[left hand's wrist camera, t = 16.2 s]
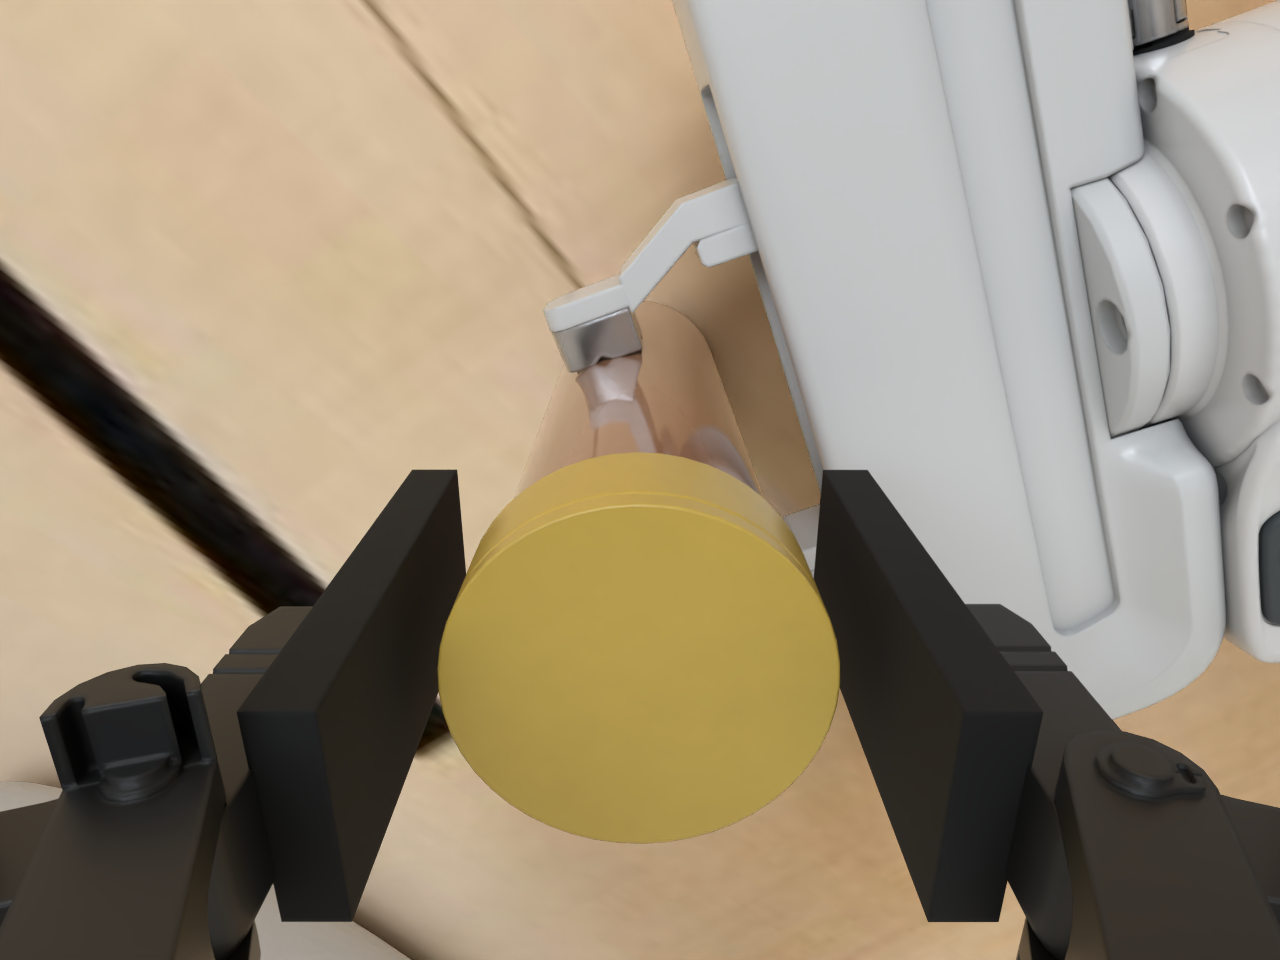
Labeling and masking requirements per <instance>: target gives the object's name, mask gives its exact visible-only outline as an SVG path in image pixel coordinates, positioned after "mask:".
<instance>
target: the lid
mask: <svg viewBox="0 0 1280 960" xmlns="http://www.w3.org/2000/svg"><path fill="white" fill-rule="evenodd" d="M437 671H438V691H439V696H440V700H441V705H442V710H443V714H444V717H445V719H446V722H447V725H448V728H449V730H450V733H451V735H452V737H453V739H454V741H455V743H456V745H457V746H458V748H459V750H460V752H461V754H462V755H463V757H464V758H465V759H466V761H467V762H468V763H469V765H470V766H471V767H472V769H473V770H474V772H475V773H476V774H477V775H478V776H479V777H480V778H481V779H482V780H483V781H484V782H485V783H486V784H487V785H488V786H489V787H490V788H491V789H492V790H493V791H494V792H495V793H497V794H498V795H499V796H500V797H502V798H503V799H504V800H505V801H507V802H508V803H509V804H511V805H512V806H514V807H515V808H517V809H519V810H520V811H522V812H523V813H525V814H527V815H528V816H530V817H532V818H534V819H536V820H538V821H540V822H542V823H545V824H547V825H549V826H551V827H554V828H557V829H560V830H562V831H565V832H568V833H571V834H575V835H579V836H583V837H587V838H591V839H595V840H602V841H610V842H617V843H640V844H644V843H659V842H670V841H676V840H681V839H687V838H692V837H696V836H699V835H703V834H707V833H710V832H714V831H716V830H719V829H721V828H724V827H726V826H729V825H731V824H734V823H736V822H738V821H740V820H742V819H744V818H746V817H747V816H749V815H751V814H753V813H755V812H757V811H758V810H760V809H761V808H763V807H764V806H765V805H767V804H768V803H770V802H771V801H773V800H774V799H776V798H777V797H778V796H779V795H780V794H781V793H782V792H784V791H785V790H786V789H787V788H788V787H789V786H790V785H792V784H793V782H794V781H795V780H796V779H797V778H798V777H799V776H800V775H801V773H802V772H803V771H804V770H805V769H806V768H807V767H808V765H809V764H810V762H811V761H812V759H813V758H814V756H815V755H816V753H817V752H818V750H819V749H820V747H821V745H822V743H823V741H824V739H825V737H826V735H827V733H828V731H829V728H830V725H831V722H832V719H833V716H834V713H835V710H836V706H837V700H838V694H839V688H840V658H839V651H838V645H837V639H836V636H835V633H834V630H833V626H832V623H831V620H830V617H829V615H828V612H827V610H826V607H825V605H824V603H823V600H822V598H821V595H820V593H819V590H818V588H817V586H816V583H815V581H814V578H813V576H812V573H811V571H810V569H809V566H808V564H807V561H806V559H805V556H804V554H803V552H802V550H801V548H800V546H799V544H798V542H797V540H796V538H795V536H794V534H793V533H792V531H791V530H790V528H789V527H788V525H787V524H786V523H785V521H784V520H783V518H782V517H781V516H780V515H779V514H778V513H777V511H776V510H775V509H774V508H773V507H772V506H771V505H770V504H769V503H768V502H767V501H766V500H765V499H764V498H763V497H761V496H760V495H759V494H758V493H756V492H755V491H754V490H753V489H752V488H750V487H749V486H748V485H746V484H744V483H743V482H741V481H739V480H738V479H736V478H734V477H733V476H731V475H730V474H728V473H725V472H723V471H721V470H719V469H716V468H714V467H712V466H710V465H707V464H704V463H701V462H697V461H694V460H691V459H688V458H684V457H678V456H672V455H667V454H661V453H640V452H633V453H621V454H610V455H605V456H600V457H595V458H590V459H586V460H583V461H580V462H577V463H574V464H572V465H569V466H566V467H563V468H561V469H559V470H557V471H555V472H553V473H551V474H549V475H547V476H545V477H543V478H541V479H540V480H538V481H537V482H535V483H534V484H532V485H531V486H530V487H528V488H527V489H525V490H524V491H522V492H521V493H520V494H519V495H518V496H517V497H516V498H515V499H513V500H512V501H511V502H510V503H509V504H508V505H507V506H506V507H505V508H504V509H503V510H502V512H501V513H500V514H499V515H498V516H497V517H496V519H495V520H494V521H493V522H492V524H491V525H490V527H489V528H488V530H487V532H486V533H485V535H484V536H483V538H482V540H481V541H480V544H479V546H478V548H477V551H476V553H475V555H474V557H473V560H472V562H471V564H470V567H469V569H468V572H467V574H466V576H465V579H464V581H463V584H462V586H461V588H460V591H459V593H458V596H457V598H456V600H455V603H454V605H453V608H452V610H451V612H450V615H449V617H448V620H447V622H446V625H445V628H444V632H443V636H442V640H441V643H440V649H439V658H438V667H437Z"/></svg>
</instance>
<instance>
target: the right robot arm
mask: <svg viewBox="0 0 1280 960" xmlns="http://www.w3.org/2000/svg"><path fill="white" fill-rule="evenodd" d="M672 2H673V6H674V9H675V12H676V16H677V19H678V22H679V26H680V29H681V32H682V36H683V39H684V42H685V45H686V49H687V52H688V55H689V59H690V62H691V65H692V69H693V72H694V75H695V79H696V82H697V85H698V89H699V92H700V95H701V99H702V102H703V105H704V108H705V112H706V115H707V118H708V122H709V125H710V128H711V132H712V135H713V138H714V142H715V145H716V148H717V152H718V155H719V158H720V162H721V165H722V168H723V171H724V175H725V178H726V180H725V181H722V182H720V183H717V184H715V185H712V186H709V187H707V188H704V189H701V190H699V191H696V192H694V193H691V194H688V195H686V196H683V197H681V198H678V199H676V200H675V202H674V203H673V204H672V205H671V206H670V208H669V209H668V210H667V211H666V213H665V214H664V215H663V216H662V218H661V219H660V220H659V221H658V222H657V224H656V225H655V226H654V227H653V229H652V230H651V231H650V232H649V233H648V235H647V236H646V237H645V238H644V240H643V241H642V242H641V243H640V244H639V246H638V247H637V248H636V249H635V251H634V252H633V253H632V254H631V255H630V257H629V258H628V259H627V260H626V262H625V263H624V264H623V265H622V266H621V268H620V274H618V275H616V276H613V277H610V278H607V279H605V280H602V281H599V282H597V283H594V284H591V285H588V286H586V287H583V288H580V289H578V290H575V291H572V292H569V293H567V294H564V295H562V296H560V297H558V298H556V299H554V300H552V301H550V302H548V303H547V305H546V306H545V308H544V310H543V312H544V315H545V318H546V320H547V323H548V326H549V329H550V331H551V333H552V335H553V337H554V340H555V342H556V345H557V347H558V349H559V352H560V354H561V357H562V359H563V361H564V364H565V366H566V368H567V371H568V372H569V373H574V372H579V371H583V370H586V369H588V368H590V367H592V366H594V365H596V364H597V362H598V361H599V359H600V358H601V356H603V357H607V358H610V359H615V358H619V357H623V356H625V355H628V354H631V353H634V352H636V351H639V350H642V349H643V342H642V339H643V337H642V330H641V327H640V325H639V322H638V319H637V316H636V313H635V310H636V309H637V307H638V306H639V305H640V304H641V303H642V302H643V300H644V299H645V298H646V297H647V296H648V295H649V293H650V292H651V291H652V290H653V289H654V288H655V286H656V285H657V284H658V283H659V282H660V281H661V279H662V278H663V277H664V276H665V275H666V273H667V272H668V271H669V270H670V269H671V268H672V266H673V265H674V264H675V263H676V262H677V261H678V259H679V258H680V257H681V256H682V255H683V254H684V252H685V251H686V250H687V249H688V248H689V247H690V245H691V244H692V243H693V246H694V249H695V252H696V254H697V256H698V258H699V259H700V261H701V263H702V264H703V265H704V266H707V267H712V266H715V265H718V264H721V263H724V262H727V261H730V260H733V259H735V258H738V257H741V256H744V255H747V254H749V258H750V261H751V264H752V268H753V271H754V274H755V278H756V281H757V284H758V288H759V291H760V294H761V297H762V301H763V304H764V307H765V311H766V314H767V317H768V321H769V324H770V327H771V331H772V334H773V337H774V341H775V344H776V347H777V351H778V354H779V357H780V360H781V364H782V367H783V370H784V374H785V377H786V380H787V384H788V387H789V390H790V394H791V397H792V400H793V404H794V407H795V410H796V414H797V417H798V420H799V423H800V427H801V430H802V433H803V437H804V440H805V443H806V447H807V450H808V453H809V457H810V460H811V463H812V467H813V470H814V473H815V477H816V480H817V483H818V486H819V490H820V493H821V486H822V475H823V470H868V471H869V472H870V474H871V475H872V477H873V478H874V479H875V481H876V482H877V483H878V485H879V486H880V488H881V489H882V490H883V492H884V493H885V494H886V496H887V497H888V499H889V500H890V501H891V503H892V504H893V505H894V507H895V508H896V510H897V511H898V512H899V514H900V515H901V516H902V518H903V519H904V521H905V522H906V523H907V525H908V526H909V528H910V529H911V530H912V532H913V533H914V534H915V536H916V537H917V539H918V540H919V541H920V543H921V544H922V545H923V547H924V548H925V550H926V551H927V552H928V554H929V555H930V556H931V558H932V559H933V561H934V562H935V563H936V565H937V566H938V567H939V569H940V570H941V572H942V573H943V574H944V576H945V577H946V578H947V580H948V581H949V583H950V584H951V585H952V587H953V588H954V589H955V591H956V592H957V594H958V595H959V596H960V598H961V599H962V600H963V602H964V603H965V604H1001V605H1003V606H1004V607H1006V608H1007V609H1009V610H1011V611H1012V612H1014V613H1015V614H1017V615H1019V616H1020V617H1022V618H1023V619H1025V620H1027V621H1028V622H1030V623H1031V624H1032V625H1033V626H1034V627H1035V628H1036V629H1037V631H1038V632H1039V633H1040V634H1041V635H1042V637H1043V638H1044V639H1045V640H1046V641H1047V643H1048V644H1049V645H1050V646H1051V651H1052V652H1056V653H1057V654H1058V656H1059V657H1060V658H1061V659H1062V660H1063V662H1064V663H1065V664H1066V665H1067V670H1068V671H1072V672H1073V674H1074V675H1075V676H1076V677H1077V678H1078V679H1079V681H1080V682H1081V683H1082V684H1083V685H1084V687H1085V688H1086V689H1087V690H1088V691H1089V693H1090V694H1091V695H1092V696H1093V697H1094V699H1095V700H1096V701H1097V702H1098V703H1099V705H1100V706H1101V707H1102V708H1103V709H1104V710H1105V712H1106V713H1107V714H1108V715H1109V716H1110V718H1111V719H1112V720H1113V719H1116V718H1119V717H1122V716H1125V715H1128V714H1131V713H1133V712H1136V711H1139V710H1141V709H1144V708H1147V707H1149V706H1151V705H1153V704H1156V703H1158V702H1160V701H1162V700H1164V699H1166V698H1168V697H1170V696H1172V695H1174V694H1176V693H1177V692H1179V691H1180V690H1182V689H1184V688H1185V687H1187V686H1188V685H1189V684H1190V683H1192V682H1193V681H1194V680H1195V679H1197V678H1198V677H1199V676H1200V675H1201V674H1202V673H1203V672H1204V671H1205V670H1206V668H1207V667H1208V666H1209V665H1210V663H1211V662H1212V661H1213V659H1214V657H1215V656H1216V654H1217V652H1218V650H1219V648H1220V645H1221V643H1222V640H1223V638H1225V639H1226V640H1228V641H1229V642H1231V643H1232V644H1234V645H1235V646H1237V647H1238V648H1240V649H1241V650H1243V651H1244V652H1246V653H1247V654H1249V655H1250V656H1252V657H1253V658H1255V659H1256V660H1258V661H1261V662H1264V663H1280V0H1276V1H1274V2H1271V3H1268V4H1266V5H1263V6H1260V7H1258V8H1255V9H1252V10H1250V11H1247V12H1244V13H1242V14H1239V15H1236V16H1233V17H1231V18H1228V19H1225V20H1223V21H1220V22H1217V23H1215V24H1212V25H1209V26H1206V27H1203V28H1200V29H1197V30H1189V26H1188V17H1187V7H1186V0H672ZM819 510H820V504H818V505H815V506H813V507H810V508H807V509H804V510H801V511H798V512H795V513H792V514H789V515H786V516H785V517H784V519H783V520H784V521H785V523H786V524H787V525H788V527H789V528H790V530H791V531H792V533H793V534H794V536H795V538H796V540H797V542H798V544H799V546H800V548H801V550H802V552H803V554H804V556H805V559H806V561H807V564H808V566H809V569H810V571H811V573H812V576H813V578H814V568H815V556H816V544H817V533H818V521H819Z"/></svg>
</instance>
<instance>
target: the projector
mask: <svg viewBox="0 0 1280 960" xmlns="http://www.w3.org/2000/svg"><path fill="white" fill-rule="evenodd" d="M61 792H62V788H57V787H52V786H47V785H42V784H36V783H31V782H18V781H0V812H1V811H6V810H11V809H15V808H20V807H25V806H29V805H34V804H39V803H44V802H48V801H51V800H55V799H59V797H60V794H61ZM255 923H256V928H257V932H258V937H259V943H260V950H261V957H260V960H411V959H409V958H408V957H407V956H405V955H404V954H402V953H401V952H399V951H398V950H396V949H395V948H393V947H392V946H390V945H389V944H387V943H386V942H384V941H383V940H381V939H380V938H378V937H377V936H375V935H374V934H372V933H371V932H369V931H367V930H366V929H364V928H363V927H361V926H359V925H358V924H356V923H355V922H353V921H352V922H281V917H280V913H279V908H278V903H277V899H276V894H275V889H274V885H273V884H272V886H271V888H270V890H269V892H268V894H267V896H266V898H265V900H264V902H263V904H262V906H261V908H260V910H259V912H258V914H257V916H256V918H255Z"/></svg>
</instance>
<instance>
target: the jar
mask: <svg viewBox="0 0 1280 960" xmlns="http://www.w3.org/2000/svg"><path fill="white" fill-rule="evenodd" d="M635 313H636V316H637V319H638V322H639V325H640V327H641V330H642V337H643V339H642V342H643V349H642V350H639V351H636V352H634V353H631V354H628V355H625V356H623V357H619V358H615V359H610V358H607V357H603V356H601V358H600V359H599V361H598V362H597V364H596V365H594V366H592V367H590V368H588V369H586V370H583V371H579V372H574V373H569V372H568V371H567V368H566V366H565V364H563V367H562V370H561V373H560V375H559V378H558V381H557V383H556V386H555V389H554V391H553V394H552V397H551V400H550V402H549V405H548V408H547V410H546V413H545V416H544V418H543V421H542V424H541V427H540V429H539V432H538V435H537V437H536V440H535V443H534V446H533V448H532V451H531V454H530V456H529V459H528V462H527V464H526V467H525V470H524V473H523V475H522V478H521V481H520V483H519V486H518V489H517V491H516V494H515V497H514V499H515V498H516V497H517V496H518V495H519V494H520V493H521V492H522V491H524V490H525V489H527V488H528V487H530V486H531V485H532V484H534V483H535V482H537V481H538V480H540V479H541V478H543V477H545V476H547V475H549V474H551V473H553V472H555V471H557V470H559V469H561V468H563V467H566V466H569V465H572V464H574V463H577V462H580V461H583V460H586V459H590V458H595V457H600V456H605V455H610V454H621V453H633V452H640V453H661V454H667V455H672V456H678V457H684V458H688V459H691V460H694V461H697V462H701V463H704V464H707V465H710V466H712V467H714V468H716V469H719V470H721V471H723V472H725V473H728V474H730V475H731V476H733V477H734V478H736V479H738V480H739V481H741V482H743V483H744V484H746V485H748V486H749V487H750V488H752V489H753V490H754V491H755V492H756V493H758V494H759V495H760V496H761V497H763V498H764V496H763V493H762V490H761V488H760V485H759V482H758V479H757V477H756V474H755V471H754V468H753V466H752V463H751V460H750V457H749V455H748V452H747V449H746V446H745V444H744V441H743V438H742V435H741V433H740V430H739V427H738V424H737V422H736V419H735V416H734V413H733V411H732V408H731V405H730V402H729V400H728V397H727V394H726V391H725V389H724V386H723V383H722V380H721V378H720V375H719V372H718V369H717V367H716V364H715V361H714V359H713V356H712V353H711V350H710V348H709V345H708V343H707V341H706V339H705V338H704V336H703V334H702V333H701V332H700V330H699V329H698V328H697V327H696V326H695V325H694V324H693V322H692V321H690V320H689V319H688V318H687V317H685V316H684V315H683V314H681V313H680V312H678V311H676V310H674V309H672V308H670V307H668V306H665V305H662V304H658V303H653V302H647V301H643V302H642V303H641V304H640V305H639V306H638V307H637V309H636V310H635Z"/></svg>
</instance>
